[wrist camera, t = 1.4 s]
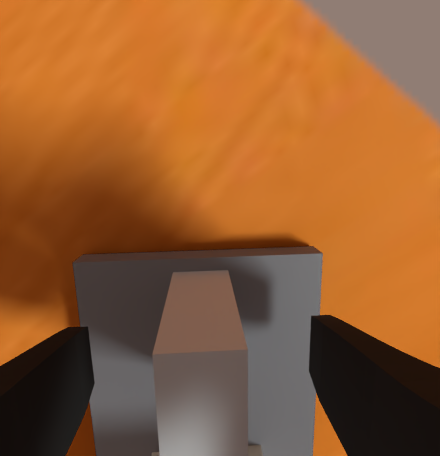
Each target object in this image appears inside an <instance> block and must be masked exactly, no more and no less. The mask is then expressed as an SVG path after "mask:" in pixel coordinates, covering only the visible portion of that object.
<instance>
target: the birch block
mask: <svg viewBox="0 0 440 456" xmlns="http://www.w3.org/2000/svg"><path fill="white" fill-rule="evenodd" d="M152 456H160V453H159V452H152ZM248 456H263V454H262V449H261V445H252V446H248Z"/></svg>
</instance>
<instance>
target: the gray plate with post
mask: <svg viewBox="0 0 440 456" xmlns="http://www.w3.org/2000/svg"><path fill="white" fill-rule="evenodd" d="M322 256H323V253H321V252H320V251H319V250H317V249H316V248H315V247H314V246H307V247H279V248H251V249H223V250H195V251H167V252H139V253H111V254H83V255H82V256H80V257H79V258H78V259H77V260H75V261H74V262H73V270H74V278H75V287H76V295H77V303H78V311H79V319H80V327H86V326H88V330H89V339H90V347H91V356H92V364H93V373H94V381H95V384H94V387H93V390H92V394H91V397H90V400H89V401H90V409H91V417H92V425H93V434H94V442H95V450H96V456H152V452H159V453H160V456H248V446H252V445H261V449H262V454H263V456H313V440H314V420H315V399H316V390H315V387H314V385H313V382H312V379H311V376H310V373H309V353H310V330H311V316H317V315H320V297H321V277H322Z"/></svg>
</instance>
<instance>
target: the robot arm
mask: <svg viewBox="0 0 440 456" xmlns="http://www.w3.org/2000/svg"><path fill="white" fill-rule="evenodd" d="M309 373H310V376H311V379H312V382H313V385H314V387H315V390H316V393H317V395H318V398H319V401H320V403H321V405H322V407H323V409H324V411H325V413H326V415H327V416H328V418H329V420H330V422H331V424H332V426H333V428H334V430H335V432H336V434H337V436H338V438H339V440H340V442H341V444H342V445H343V447H344V449H345V451H346V453H347V455H348V456H440V368H438V367H435V366H433V365H430V364H428V363H426V362H423V361H421V360H419V359H417V358H415V357H413V356H410V355H408V354H406V353H404V352H402V351H400V350H398V349H396V348H394V347H392V346H390V345H388V344H386V343H384V342H382V341H380V340H378V339H376V338H374V337H372V336H370V335H368V334H367V333H365V332H363V331H361V330H359V329H357V328H355V327H353V326H352V325H350V324H348V323H346V322H344V321H342V320H340V319H338V318H336V317H333V316H331V315H317V316H311V330H310V353H309ZM94 384H95V381H94V373H93V364H92V356H91V347H90V339H89V330H88V326H86V327H68V328H66V329H64V330H62V331H60V332H58V333H56V334H54V335H52V336H51V337H49V338H47V339H46V340H44V341H42V342H41V343H39V344H37V345H36V346H34V347H32V348H31V349H29V350H27V351H25V352H24V353H22V354H20V355H19V356H17V357H15V358H14V359H12V360H10V361H9V362H7V363H5V364H3V365H1V366H0V456H65V455H66V453H67V451H68V449H69V447H70V445H71V443H72V441H73V439H74V436H75V434H76V432H77V430H78V428H79V426H80V424H81V421H82V419H83V417H84V415H85V412H86V409H87V406H88V403H89V400H90V397H91V394H92V390H93V387H94Z"/></svg>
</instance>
